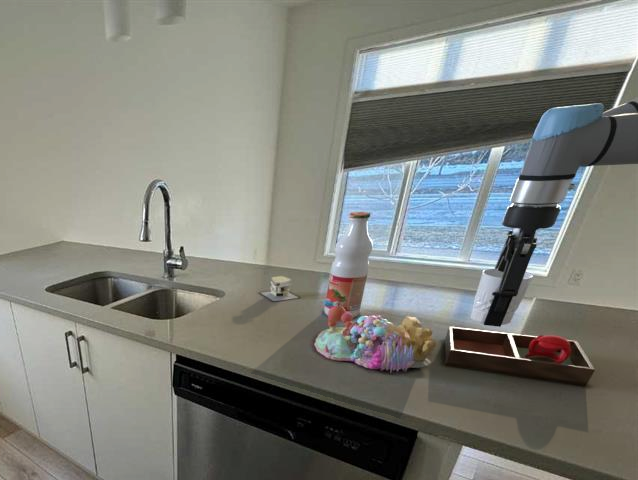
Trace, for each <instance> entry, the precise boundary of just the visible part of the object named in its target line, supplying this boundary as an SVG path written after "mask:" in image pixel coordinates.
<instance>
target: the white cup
mask: <svg viewBox="0 0 638 480" xmlns="http://www.w3.org/2000/svg"><path fill="white" fill-rule="evenodd" d="M503 273H504V272H501V271H499V270H498V269H495V268H489V269H484V270H483V271H482V273H481V277H480V280H479V283H478V287H477V290H476V293H475V296H474V301H473V304H472V306H473V307H472V310H471V312H470V319H471V320H473V321H475V322H478V323H479V324H484V321H485V319H486V316H487V313H488V311H489V308H490V306H491V303H492V301H493V298H494V295H492V293H493V292H497V291H498V289H499V286H500V283H501V280H502V276H503ZM533 278H534V274H533V273H531V272H528V271H526V272H525V274H524V277H523V280H522V282H521V285H520V288H519V290H518V294H517V296H513V298H512V300H511V303H510V305H509V307H508V310H507V312H506V315H505V317H504V320H503V322H502V324H501V326H503V325H504V326H505V325H507V324H511V321H512V319H513V317H514V316H515V314H516V311H517V310H518V308H519V306H520V304H521V302H522V300H523V299H524V297H525V295H526V293H527V291H528V289H529V287H530V285H531V282H532V280H533ZM507 290H511V289H507Z"/></svg>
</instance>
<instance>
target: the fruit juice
mask: <svg viewBox="0 0 638 480" xmlns="http://www.w3.org/2000/svg"><path fill="white" fill-rule="evenodd" d="M370 219H371V212H369V211H353V212H350V213H349V215H348V220H349V223H348V225H347V228H346V230H345V231H344V234H343V235H342V236H341V237H340V238H339V239H338V240H337V241H336V243H335V246H334V256H335V258H334V260H333V261H332V263H331V268H330V270H329V271H330V272H329V279H328V284H327V289H326V296H325V302H324V308H323V312H324V314H325V315H326V316H328V312H329V310H330V309H331V308H332V307H334V306H337V305H338V306H342V307H343V308H344V309H345V311H346V313H351V314H352V316H353V319H354V318H356V317H358V315H359V314H360V311H361V306H362V302H363V297H364V292H365V287H366V285H367V283H366V282H367V279H368V275H369V268H370V261H369V257H370V255H371V253H372V252H373V247H374V243H373V240H372V238H371V237H370V236H369V231H368V222H369V220H370Z"/></svg>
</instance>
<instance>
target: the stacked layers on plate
mask: <svg viewBox="0 0 638 480" xmlns="http://www.w3.org/2000/svg"><path fill="white" fill-rule="evenodd" d="M270 278H271V281H270V283H271V286H270V287H269V288H270V291H263V292H260V294H261V295H263V296H264V297H266V298H268V299H269V300H270V301H273V302H279V301H286V300H293V299H299V297H298V296H297V295H295V294H293V293H291V292H290V291H291V289H290V286H291V285H292V284H291V282H290V281H292V279H291V278H288V277H287V276H286V277H285V276H283V275H280V276H279V275H277V276H272V277H270Z"/></svg>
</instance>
